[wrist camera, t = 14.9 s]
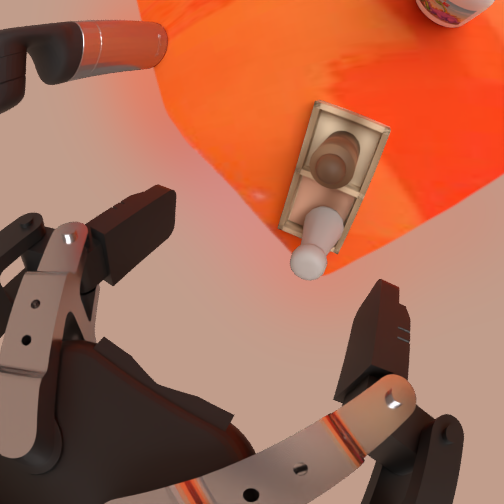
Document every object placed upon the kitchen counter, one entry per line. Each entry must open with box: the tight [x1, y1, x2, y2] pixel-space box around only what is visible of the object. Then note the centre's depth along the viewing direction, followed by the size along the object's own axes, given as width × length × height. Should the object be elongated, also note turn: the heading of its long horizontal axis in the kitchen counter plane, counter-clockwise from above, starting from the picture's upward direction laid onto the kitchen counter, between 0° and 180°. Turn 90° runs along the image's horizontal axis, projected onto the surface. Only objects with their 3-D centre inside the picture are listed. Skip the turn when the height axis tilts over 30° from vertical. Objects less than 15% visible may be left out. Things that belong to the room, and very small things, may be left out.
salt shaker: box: [290, 206, 344, 280], centre depth 37 cm, size 6×6×13 cm
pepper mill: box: [309, 131, 360, 189], centre depth 31 cm, size 5×5×12 cm
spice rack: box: [278, 100, 391, 254], centre depth 38 cm, size 10×20×3 cm, turn 167°
